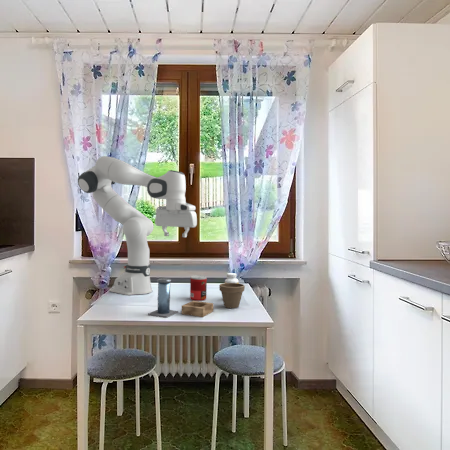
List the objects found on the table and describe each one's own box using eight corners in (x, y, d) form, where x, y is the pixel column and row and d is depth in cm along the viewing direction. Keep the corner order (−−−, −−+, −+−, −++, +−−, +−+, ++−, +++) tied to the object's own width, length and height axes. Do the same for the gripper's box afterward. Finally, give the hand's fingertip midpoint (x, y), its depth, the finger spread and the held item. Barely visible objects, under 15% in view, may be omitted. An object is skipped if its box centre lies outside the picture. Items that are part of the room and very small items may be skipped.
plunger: (153, 312, 165) (154, 280, 164) (161, 309, 170) (162, 277, 170) (165, 314, 163) (166, 281, 162) (173, 311, 168) (173, 279, 167)
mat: (148, 314, 164) (148, 313, 164) (160, 309, 173) (160, 308, 173) (166, 317, 161) (166, 316, 161) (178, 312, 169) (178, 311, 169)
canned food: (204, 301, 189) (204, 278, 189) (188, 300, 191) (188, 277, 190) (208, 297, 197) (208, 275, 196) (192, 296, 198) (192, 274, 198)
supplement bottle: (238, 298, 197) (238, 272, 196) (238, 301, 190) (238, 275, 189) (224, 298, 197) (225, 272, 196) (224, 301, 190) (224, 274, 190)
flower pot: (228, 302, 188) (228, 281, 188) (248, 306, 182) (249, 284, 181) (213, 307, 179) (214, 285, 178) (234, 311, 172) (235, 288, 172)
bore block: (181, 314, 167) (181, 305, 166) (192, 308, 176) (192, 300, 176) (202, 317, 163) (203, 308, 163) (213, 311, 172) (213, 303, 172)
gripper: (152, 205, 182) (152, 236, 183) (192, 206, 174) (191, 238, 175) (160, 206, 188) (159, 235, 188) (198, 206, 180) (198, 237, 180)
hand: (175, 236), depth 181 cm, fingers open, 8 cm apart
